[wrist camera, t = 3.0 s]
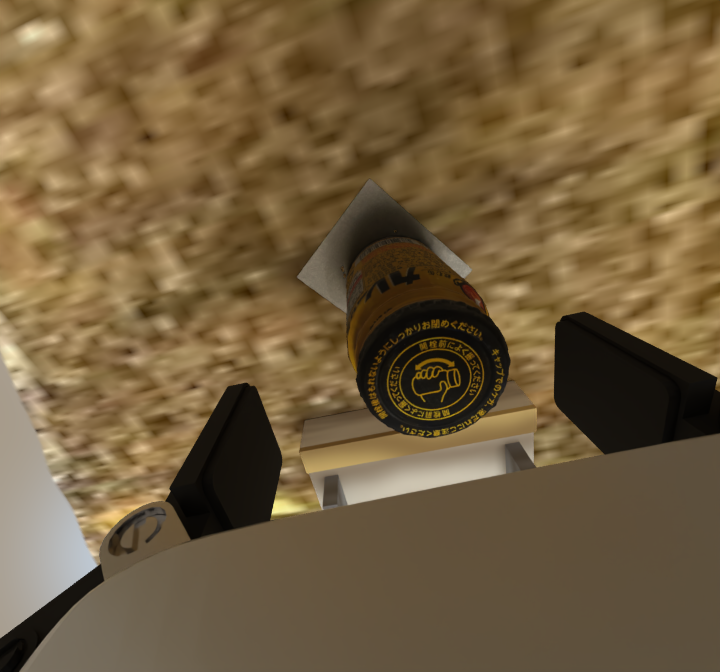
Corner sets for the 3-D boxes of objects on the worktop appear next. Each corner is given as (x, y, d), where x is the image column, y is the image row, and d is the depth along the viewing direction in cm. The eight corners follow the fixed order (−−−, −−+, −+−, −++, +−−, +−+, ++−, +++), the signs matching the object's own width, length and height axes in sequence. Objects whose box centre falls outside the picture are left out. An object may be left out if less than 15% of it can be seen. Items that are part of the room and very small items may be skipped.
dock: (304, 420, 26) (291, 496, 20) (513, 380, 26) (569, 446, 19) (354, 565, 34) (355, 655, 27) (517, 538, 33) (558, 623, 27)
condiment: (396, 349, 24) (437, 487, 13) (296, 276, 22) (246, 371, 11) (471, 268, 22) (592, 355, 11) (369, 178, 20) (396, 175, 9)
